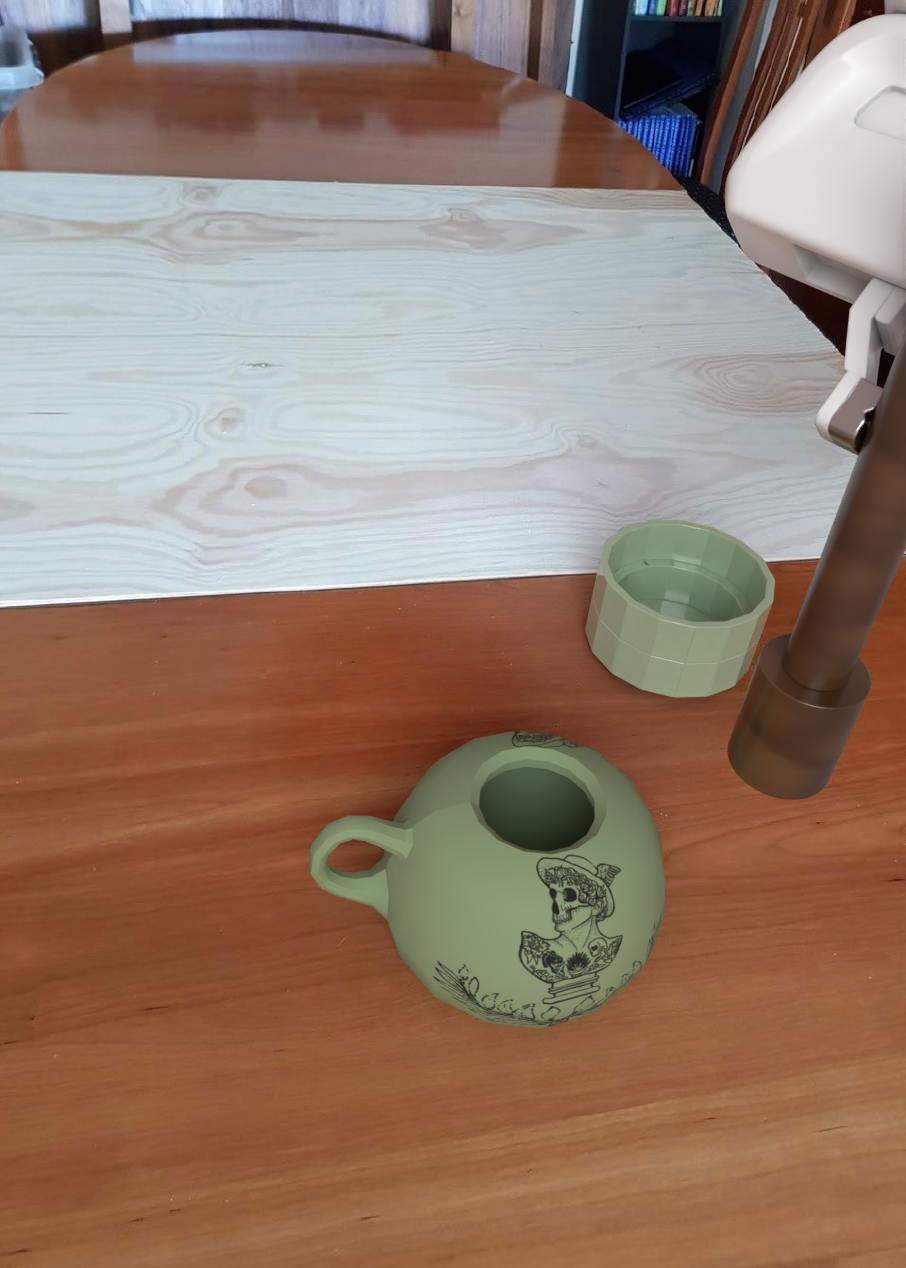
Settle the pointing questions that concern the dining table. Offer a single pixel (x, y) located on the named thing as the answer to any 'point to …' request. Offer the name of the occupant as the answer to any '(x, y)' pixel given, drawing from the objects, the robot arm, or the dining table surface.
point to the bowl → (678, 607)
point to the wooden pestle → (830, 623)
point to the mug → (513, 878)
